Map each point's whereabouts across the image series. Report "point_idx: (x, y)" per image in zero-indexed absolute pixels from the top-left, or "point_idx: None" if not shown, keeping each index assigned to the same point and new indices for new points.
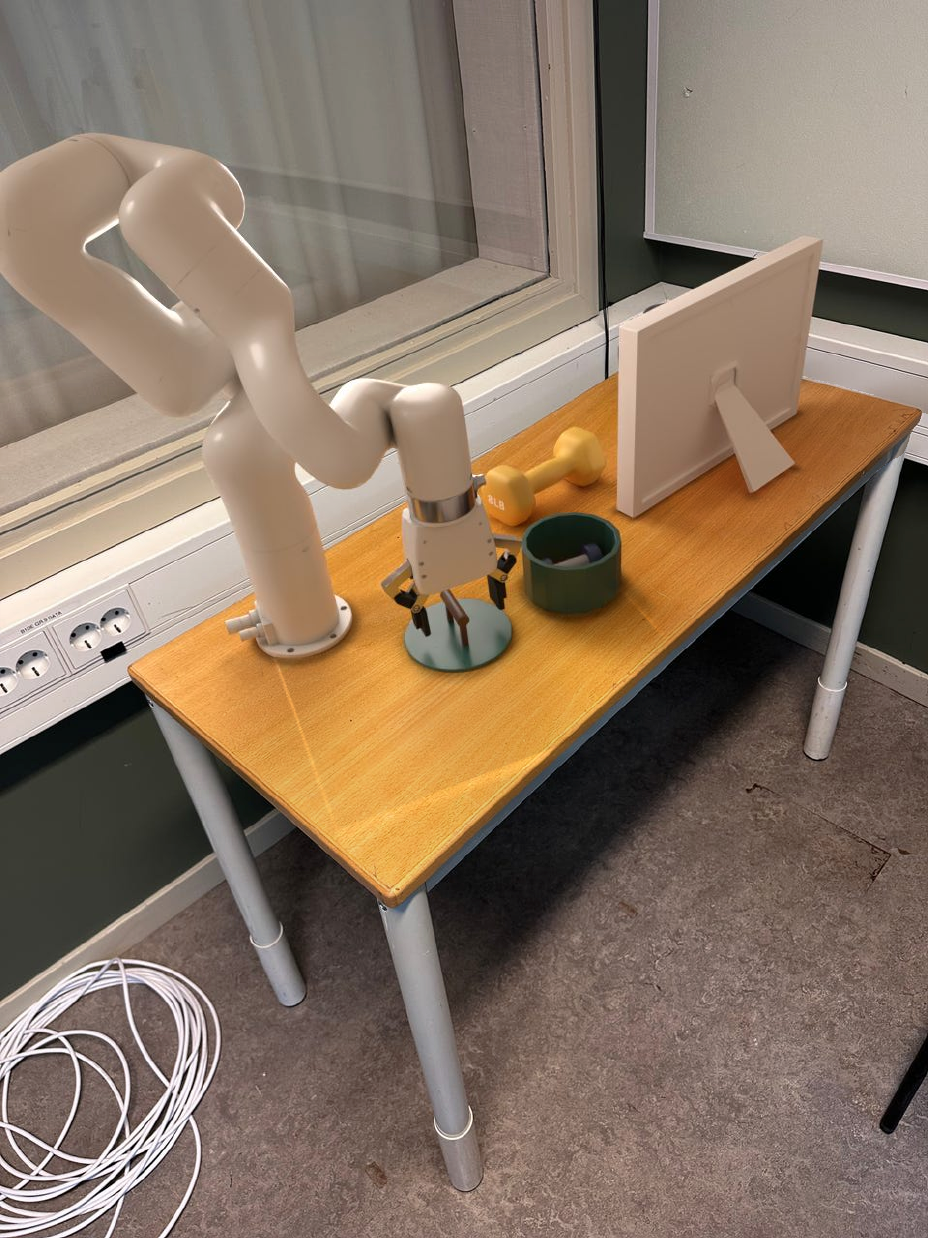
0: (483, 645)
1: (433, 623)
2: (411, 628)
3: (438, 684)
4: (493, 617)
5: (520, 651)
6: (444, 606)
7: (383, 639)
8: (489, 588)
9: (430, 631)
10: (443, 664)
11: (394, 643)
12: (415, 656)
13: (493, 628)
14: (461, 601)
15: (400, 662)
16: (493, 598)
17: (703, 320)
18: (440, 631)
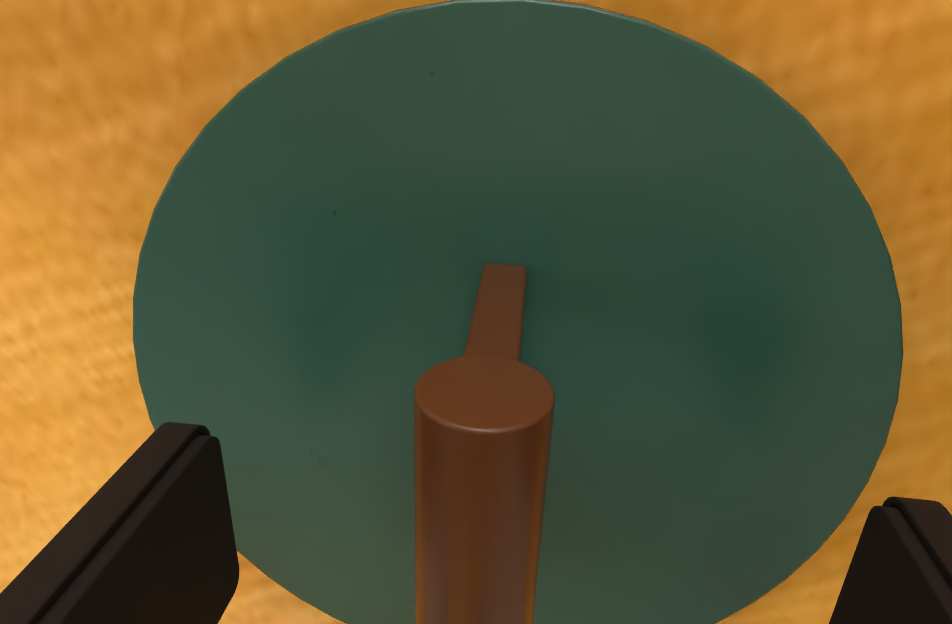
0: (580, 577)
1: (374, 244)
2: (203, 207)
3: (275, 587)
4: (793, 410)
5: (748, 615)
6: (538, 90)
7: (26, 116)
8: (928, 613)
9: (222, 609)
10: (315, 576)
11: (99, 197)
12: None
13: (721, 493)
14: (702, 109)
15: (115, 370)
16: (870, 613)
17: None
18: (392, 346)
